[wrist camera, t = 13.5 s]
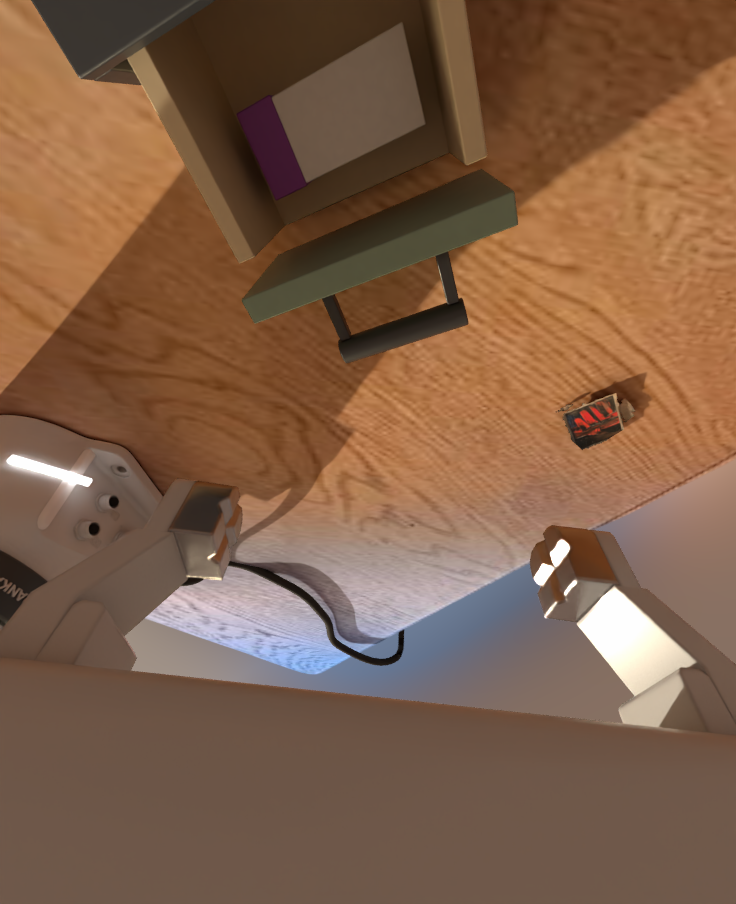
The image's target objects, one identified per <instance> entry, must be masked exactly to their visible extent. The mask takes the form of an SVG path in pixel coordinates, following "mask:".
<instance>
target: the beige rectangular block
mask: <svg viewBox="0 0 736 904" xmlns="http://www.w3.org/2000/svg"><path fill="white" fill-rule="evenodd" d="M236 115H237V118H238V120H239V122H240V124H241V127H242V129H243V131H244V133H245V135H246V137H247V140H248V142H249V144H250V146H251V148H252V150H253V153H254V155H255V157H256V159H257V161H258V163H259V166H260V168H261V170H262V172H263V174H264V176H265V178H266V181H267V183H268V185H269V187H270V189H271V191H272V194H273V196H274V198H275V200H279V199H281V198H283V197H285V196H287V195H290V194H292V193H294V192H296V191H298V190H300V189H302V188H304V187H306V186H307V185H308V184H309V183H311V182H312V181H313V180H314V179H316V178H318V177H320V176H322V175H324V174H326V173H328V172H330V171H332V170H334V169H336V168H338V167H340V166H342V165H344V164H346V163H348V162H350V161H352V160H354V159H356V158H359V157H361V156H363V155H365V154H367V153H369V152H371V151H373V150H375V149H377V148H379V147H381V146H383V145H385V144H387V143H389V142H391V141H393V140H395V139H397V138H399V137H401V136H403V135H405V134H407V133H409V132H411V131H413V130H415V129H417V128H419V127H421V126H423V125H425V124H426V122H425V117H424V113H423V109H422V104H421V100H420V96H419V91H418V87H417V83H416V78H415V74H414V70H413V65H412V61H411V57H410V52H409V48H408V44H407V39H406V35H405V31H404V26H403V23H402V22H400V23H399V24H397V25H395V26H393V27H392V28H390V29H388V30H387V31H385V32H383V33H381V34H380V35H378V36H376V37H374V38H373V39H371V40H369V41H367V42H366V43H364V44H362V45H361V46H359V47H357V48H355V49H354V50H352V51H350V52H348V53H347V54H345V55H343V56H342V57H340V58H338V59H336V60H335V61H333V62H331V63H329V64H328V65H326V66H324V67H323V68H321V69H319V70H317V71H316V72H314V73H312V74H310V75H309V76H307V77H305V78H304V79H302V80H300V81H298V82H297V83H295V84H293V85H291V86H290V87H288V88H286V89H284V90H283V91H281V92H279V93H278V94H276V95H267V96H266V97H264V98H262V99H260V100H259V101H257V102H255V103H254V104H252V105H250V106H248V107H247V108H245V109H243V110H242V111H240V112H238V113H237V114H236Z"/></svg>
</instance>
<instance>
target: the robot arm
mask: <svg viewBox="0 0 736 904" xmlns="http://www.w3.org/2000/svg"><path fill="white" fill-rule="evenodd" d="M239 498H240V492H239V488H238V487H236V486H229V485H223V484H216V483H209V482H202V481H194V480H187V479H180V478H177V479H176V480H175V481H173V482H172V483H171V485H170V487H169V488H168V490H167V491H166V493H165V495H164V496H162V495H161V493H160V492H159V491H158V489H157V488H156V487H155V485H154V484H153V483H152V481H151V480H150V478H149V477H148V476H147V474H146V473H145V472H144V470H143V469H142V468H141V466H140V465H139V464H138V462H137V461H136V460H135V458H134V457H133V456H132V454H131V453H130V452H129V451H128V450H126V449H125V448H123V447H121V446H119V445H116V444H112V443H108V442H103V441H97V440H92V439H88V438H85V437H83V436H80V435H78V434H76V433H73V432H71V431H69V430H67V429H64V428H62V427H59V426H57V425H54V424H51V423H48V422H45V421H42V420H38V419H34V418H30V417H24V416H16V415H0V904H736V664H735V663H733V662H732V661H731V660H730V659H729V658H727V657H726V656H725V655H724V654H723V653H722V652H720V651H719V650H718V649H717V648H716V647H715V646H713V645H712V644H711V643H710V642H709V641H708V640H706V639H705V638H704V637H703V636H702V635H701V634H699V633H698V632H697V631H696V630H695V629H693V628H692V627H691V626H690V625H689V624H688V623H686V622H685V621H684V620H683V619H682V618H681V617H679V616H678V615H677V614H676V613H675V612H674V611H672V610H671V609H670V608H669V607H668V606H667V605H665V604H664V603H663V602H662V601H661V600H659V599H658V598H657V597H656V596H655V595H654V594H652V593H651V592H650V591H649V590H648V589H643V588H641V587H640V585H639V583H638V581H637V579H636V577H635V575H634V573H633V571H632V570H631V567H630V566H629V564H628V562H627V560H626V558H625V556H624V554H623V552H622V551H621V548H620V547H619V545H618V543H617V541H616V539H615V537H614V536H613V535H612V534H611V533H610V532H604V531H596V530H587V529H581V528H572V527H563V526H554V525H551V526H549V527H548V528H547V529H546V530H545V532H544V533H543V535H544V538H545V540H543V541H541V542H539V543H537V544H536V545H535V547H534V549H533V550H532V552H531V558H530V568H531V572H532V576H533V579H534V580H535V581H536V582H537V583H538V584H539V585H540V586H541V588H540V590H539V592H538V597H539V600H540V603H541V606H542V610H543V613H544V616H545V618H551V619H558V620H565V621H572V622H578V623H577V625H578V626H579V628H580V629H581V630H582V631H583V632H584V634H585V635H586V636H587V637H588V639H589V640H590V641H591V642H592V643H593V645H594V646H595V647H596V649H597V650H598V651H599V652H600V654H601V655H602V656H603V657H604V659H605V660H606V661H607V662H608V664H609V665H610V666H611V667H612V669H613V670H614V671H615V672H616V673H617V675H618V676H619V677H620V678H621V680H622V681H623V682H624V683H625V685H626V686H627V687H628V688H629V690H630V691H631V692H632V693H633V695H634V697H633V698H631V699H630V700H628V701H627V702H625V703H623V704H622V705H621V706H620V708H619V709H618V710H619V713H620V716H621V718H622V721H623V723H615V722H605V721H596V720H587V719H576V718H568V717H558V716H549V715H540V714H531V713H521V712H512V711H502V710H493V709H484V708H475V707H465V706H456V705H447V704H436V703H427V702H419V701H409V700H400V699H391V698H381V697H372V696H362V695H352V694H344V693H335V692H325V691H316V690H306V689H297V688H288V687H277V686H269V685H259V684H250V683H241V682H231V681H222V680H212V679H203V678H194V677H184V676H175V675H165V674H156V673H147V672H138V671H131V669H132V667H133V665H134V663H135V661H136V659H137V658H136V655H135V652H134V651H133V649H132V647H131V646H130V645H129V643H128V641H127V640H126V638H125V637H124V636H125V635H126V634H127V633H128V632H129V631H131V630H132V629H133V628H134V627H135V626H136V625H137V624H139V623H140V622H141V621H142V620H143V619H144V618H145V617H146V616H147V615H149V614H150V613H151V612H152V611H153V610H154V609H155V608H156V607H158V606H159V605H160V604H161V603H162V602H163V601H164V600H165V599H167V598H168V597H169V596H170V595H171V594H172V593H173V592H174V591H175V590H177V589H178V588H179V587H180V586H188V585H193V584H196V583H198V582H200V581H202V580H203V579H213V580H223V577H224V574H225V572H226V569H227V567H228V566H232V567H237V568H241V569H244V570H247V571H250V572H252V573H255V574H257V575H259V576H261V577H263V578H265V579H267V580H269V581H271V582H273V583H275V584H277V585H279V586H281V587H283V588H285V589H287V590H289V591H291V592H292V593H294V594H296V595H297V596H299V597H300V598H302V599H303V600H304V601H305V602H306V603H307V604H308V605H310V607H311V608H312V609H313V610H314V611H315V612H316V613H317V614H318V615H319V617H320V618H321V619H322V620H323V621H324V623H325V625H326V629H327V635H328V638H329V640H330V642H331V643H332V645H333V646H335V647H336V648H337V649H339V650H341V651H342V652H344V653H346V654H348V655H350V656H352V657H354V658H356V659H358V660H360V661H363V662H366V663H369V664H372V665H380V666H382V665H389V664H392V663H395V662H396V661H398V660H399V659H400V657H401V656H402V653H403V649H404V629H403V630H401V631H399V634H398V636H399V637H398V650H397V652H396V654H395V655H393V656H392V657H390V658H386V659H377V658H372V657H369V656H366V655H363V654H361V653H359V652H357V651H355V650H353V649H351V648H349V647H347V646H346V645H344V644H342V643H341V642H339V641H338V640H337V639H336V638H335V636H334V631H333V625H332V622H331V620H330V618H329V616H328V615H327V613H326V612H325V611H324V610H323V609H322V607H321V606H320V605H319V604H318V603H317V602H316V601H315V600H314V599H313V598H312V597H311V596H310V595H309V594H308V593H307V592H305V591H304V590H303V589H301V588H300V587H298V586H296V585H295V584H293V583H291V582H289V581H287V580H285V579H283V578H281V577H280V576H278V575H276V574H274V573H272V572H270V571H268V570H265V569H262V568H259V567H255V566H250V565H245V564H240V563H235V562H232V561H230V559H231V555H230V549H229V548H230V547H232V546H233V545H234V544H236V543H237V540H238V537H239V535H240V531H241V526H242V515H243V514H242V508H241V507H240V506H239V505H238V504H237V503H238V501H239Z"/></svg>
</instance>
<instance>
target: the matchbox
mask: <svg viewBox="0 0 736 904" xmlns="http://www.w3.org/2000/svg"><path fill="white" fill-rule="evenodd" d="M621 401H622V402H623V403H622V404H619V403H618V402H617V396H616V393H615V394H612V395H608V396H606V397H604V398H602V399H599V400H595V401H594V402H592V403H589V404H584V403H582V406H581V407H579V408H577V409H574V410H571V411H567V413H564V414H563V420H564V421H565V423H566V425H565V426H566V427H567V428H568V430H569V432H568V433H570V435H571V440H572V441H573V442H574V443H575V444H577V445H578V446H579V447H580V448H581V449H582V450H583V449H585V448H589V447H591V446H593V445H596V444H600V443H602V442H604V441H607V440H608V439H609V438H610V437H612V436H614V435H615V434H617V433H619V432H620V431H622V430H624V429H623V424H622V423H623V421H622V420H621V419H622V418H623V419H624V418H625V420H626V421H624V422H627V421H628V420H629V419H631V418H632V417H633V416H634V415H633V414H632V412H635V410H634V408H632V405H631V404H630V403H629V402H628V401H627V400H626V399H623V400H621ZM571 406H573V404H572V405H570V404H568V405H566V406H565V407H563V408H561V410H560V411H565V410H568V409H569V407H571ZM618 406H619V407H618ZM558 411H559V410H558ZM560 411H559V412H560ZM556 413H557V411H556ZM620 413H622V416H621V414H620Z"/></svg>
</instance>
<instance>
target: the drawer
mask: <svg viewBox="0 0 736 904" xmlns="http://www.w3.org/2000/svg"><path fill="white" fill-rule="evenodd" d="M400 22H402V23H403V26H404V31H405V35H406V39H407V44H408V48H409V52H410V57H411V61H412V65H413V70H414V74H415V78H416V83H417V87H418V91H419V96H420V100H421V104H422V109H423V113H424V117H425V122H426V124H425V125H423V126H421V127H419V128H417V129H415V130H413V131H411V132H409V133H407V134H405V135H403V136H401V137H399V138H397V139H395V140H393V141H391V142H389V143H387V144H385V145H383V146H381V147H379V148H377V149H375V150H373V151H371V152H369V153H367V154H365V155H363V156H361V157H359V158H356V159H354V160H352V161H350V162H348V163H346V164H344V165H342V166H340V167H338V168H336V169H334V170H332V171H330V172H328V173H326V174H324V175H322V176H320V177H318V178H316V179H314V180H313V181H312V182H311V183H309V184H308V185H307V186H306V187H304V188H302V189H300V190H298V191H296V192H294V193H292V194H290V195H287V196H285V197H283V198H281V199H279V200H275V198H274V196H273V194H272V191H271V189H270V187H269V185H268V183H267V181H266V178H265V176H264V174H263V172H262V170H261V168H260V166H259V163H258V161H257V159H256V157H255V155H254V153H253V150H252V148H251V146H250V144H249V142H248V140H247V137H246V135H245V133H244V131H243V129H242V127H241V124H240V122H239V120H238V118H237V115H236V114H237V113H238V112H240V111H242V110H243V109H245V108H247V107H248V106H250V105H252V104H254V103H255V102H257V101H259V100H260V99H262V98H264V97H266V96H267V95H276V94H278V93H279V92H281V91H283V90H284V89H286V88H288V87H290V86H291V85H293V84H295V83H297V82H298V81H300V80H302V79H304V78H305V77H307V76H309V75H310V74H312V73H314V72H316V71H317V70H319V69H321V68H323V67H324V66H326V65H328V64H329V63H331V62H333V61H335V60H336V59H338V58H340V57H342V56H343V55H345V54H347V53H348V52H350V51H352V50H354V49H355V48H357V47H359V46H361V45H362V44H364V43H366V42H367V41H369V40H371V39H373V38H374V37H376V36H378V35H380V34H381V33H383V32H385V31H387V30H388V29H390V28H392V27H393V26H395V25H397V24H399V23H400ZM127 59H128V61H129V63H130V65H131V67H132V68H133V70H134V72H135V74H136V76H137V78H138V79H139V81H140V83H141V85H142V87H143V89H144V90H145V92H146V94H147V96H148V98H149V100H150V101H151V103H152V105H153V107H154V109H155V111H156V112H157V114H158V116H159V118H160V120H161V121H162V123H163V125H164V127H165V129H166V131H167V132H168V134H169V136H170V138H171V140H172V142H173V143H174V145H175V147H176V149H177V151H178V153H179V154H180V156H181V158H182V160H183V162H184V164H185V165H186V167H187V169H188V171H189V173H190V174H191V176H192V178H193V180H194V182H195V184H196V185H197V187H198V189H199V191H200V193H201V195H202V196H203V198H204V200H205V202H206V204H207V206H208V207H209V209H210V211H211V213H212V215H213V217H214V218H215V220H216V222H217V224H218V226H219V227H220V229H221V231H222V233H223V235H224V237H225V238H226V240H227V242H228V244H229V246H230V248H231V249H232V251H233V253H234V255H235V257H236V259H237V260H238V262H239V263H242V262H245V261H247V260H249V259H252V258H254V257H255V256H256V255H257V254H258V253H259V252H260V251H261V250H262V249H263V248H264V247H265V246H266V245H267V244H268V243H269V242H270V240H271V239H272V238H273V237H274V236H275V235H276V234H277V233H278V232H279V231H280V230H281V229H282V228H283V227H284V226H285V225H288V224H290V223H292V222H294V221H297V220H299V219H301V218H303V217H306V216H308V215H310V214H312V213H315V212H317V211H319V210H321V209H324V208H326V207H328V206H330V205H333V204H335V203H337V202H339V201H342V200H344V199H346V198H348V197H351V196H353V195H355V194H357V193H360V192H362V191H364V190H366V189H369V188H371V187H373V186H375V185H378V184H380V183H382V182H384V181H387V180H389V179H391V178H393V177H396V176H398V175H400V174H402V173H405V172H407V171H409V170H411V169H414V168H416V167H418V166H420V165H423V164H425V163H427V162H429V161H432V160H434V159H436V158H438V157H441V156H443V155H445V154H447V153H451V154H452V155H454V156H455V157H456V158H457V159H459V160H460V161H461V162H463V163H464V164H465V165H470V164H472V163H474V162H477V161H479V160H481V159H484V158H486V157H487V147H486V140H485V134H484V127H483V120H482V113H481V106H480V99H479V92H478V85H477V79H476V72H475V65H474V58H473V51H472V44H471V37H470V31H469V24H468V17H467V10H466V3H465V0H215V1H214V2H212V3H211V4H209V5H208V6H206V7H205V8H203V9H202V10H200V11H198V12H197V13H195V14H194V15H192V16H191V17H189V18H188V19H186V20H185V21H183V22H182V23H180V24H179V25H177V26H176V27H174V28H173V29H171V30H170V31H168V32H167V33H165V34H164V35H162V36H161V37H159V38H157V39H156V40H154V41H153V42H151V43H150V44H148V45H147V46H145V47H144V48H142V49H141V50H139V51H138V52H136V53H135V54H133V55H132V56H130V57H129V58H127ZM516 225H518V219H517V210H516V201H515V193H514V191H513V190H511V189H510V188H509V187H507V186H506V185H504V184H503V183H501V182H500V181H498V180H497V179H495V178H494V177H493V176H491V175H490V174H488V173H487V172H485V171H484V170H482V169H480V170H477V171H475V172H473V173H470V174H468V175H466V176H463V177H461V178H458V179H456V180H454V181H451V182H449V183H447V184H444V185H442V186H440V187H437V188H435V189H433V190H430V191H428V192H425V193H423V194H421V195H418V196H416V197H414V198H411V199H409V200H407V201H404V202H402V203H400V204H397V205H395V206H392V207H390V208H388V209H385V210H383V211H381V212H378V213H376V214H374V215H371V216H369V217H367V218H364V219H362V220H359V221H357V222H355V223H352V224H350V225H348V226H345V227H343V228H341V229H338V230H336V231H333V232H331V233H329V234H326V235H324V236H322V237H319V238H317V239H315V240H312V241H310V242H308V243H305V244H303V245H300V246H298V247H296V248H293V249H291V250H289V251H286V252H284V253H282V254H279V255H278V256H277V257H276V258H275V260H274V261H273V262H272V263H271V264H270V266H269V267H268V268H267V269H266V271H265V272H264V273H263V274H262V275H261V277H260V278H259V279H258V280H257V282H256V283H255V284H254V285H253V286H252V288H251V289H250V290H249V291H248V293H247V294H246V295H245V296H244V298H243V299H242V302H243V304H244V306H245V308H246V309H247V311H248V313H249V315H250V316H251V318H252V320H253V322H254V323H259V322H261V321H264V320H267V319H269V318H272V317H275V316H277V315H280V314H283V313H285V312H288V311H291V310H293V309H296V308H298V307H301V306H304V305H306V304H309V303H312V302H314V301H317V300H320V299H322V300H323V302H324V304H325V307H326V309H327V311H328V313H329V316H330V318H331V320H332V322H333V325H334V327H335V329H336V331H337V334H338V336H339V338H340V340H339V341H338V345H339V350H340V353H341V356H342V358H343V360H344V361H345V362H346V363H350V362H353V361H356V360H359V359H362V358H366V357H369V356H372V355H375V354H378V353H381V352H384V351H387V350H391V349H394V348H397V347H400V346H403V345H406V344H409V343H412V342H416V341H419V340H422V339H425V338H428V337H431V336H434V335H437V334H440V333H444V332H447V331H450V330H453V329H456V328H459V327H462V326H465V325H468V318H467V314H466V310H465V306H464V302H463V299H462V298H458V294H457V289H456V285H455V281H454V276H453V272H452V267H451V263H450V258H449V254H448V251H450V250H453V249H455V248H458V247H461V246H463V245H466V244H469V243H471V242H474V241H477V240H479V239H482V238H485V237H487V236H490V235H492V234H495V233H498V232H500V231H503V230H506V229H508V228H511V227H514V226H516ZM434 256H435V257H436V261H437V265H438V269H439V273H440V277H441V281H442V285H443V289H444V293H445V297H446V301H447V303H445V304H442V305H439V306H436V307H433V308H430V309H427V310H424V311H421V312H418V313H415V314H412V315H409V316H407V317H404V318H401V319H398V320H395V321H392V322H389V323H386V324H383V325H380V326H377V327H374V328H371V329H368V330H365V331H362V332H360V333H357V334H354V335H351V332H350V329H349V327H348V325H347V322H346V320H345V318H344V315H343V313H342V311H341V308H340V306H339V303H338V301H337V299H336V296H335V294H336V293H338V292H341V291H344V290H346V289H349V288H352V287H354V286H357V285H360V284H362V283H365V282H368V281H370V280H373V279H376V278H378V277H381V276H384V275H386V274H389V273H391V272H394V271H397V270H399V269H402V268H405V267H407V266H410V265H413V264H415V263H418V262H421V261H423V260H426V259H429V258H431V257H434Z"/></svg>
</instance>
